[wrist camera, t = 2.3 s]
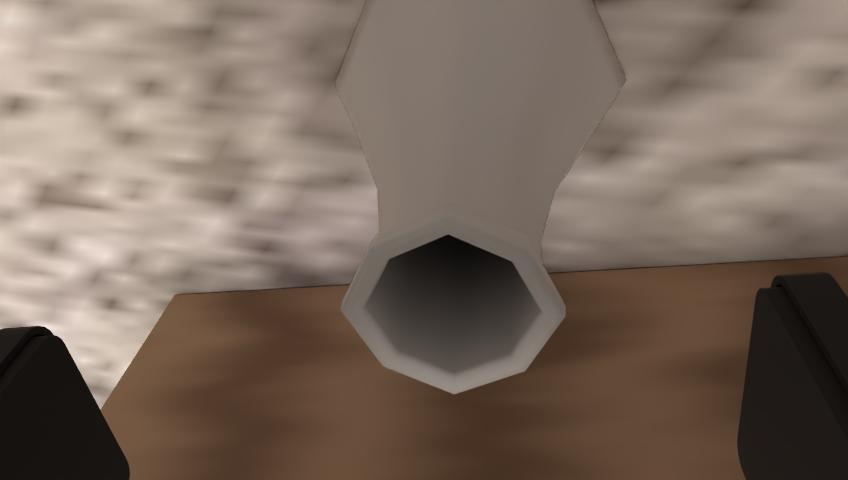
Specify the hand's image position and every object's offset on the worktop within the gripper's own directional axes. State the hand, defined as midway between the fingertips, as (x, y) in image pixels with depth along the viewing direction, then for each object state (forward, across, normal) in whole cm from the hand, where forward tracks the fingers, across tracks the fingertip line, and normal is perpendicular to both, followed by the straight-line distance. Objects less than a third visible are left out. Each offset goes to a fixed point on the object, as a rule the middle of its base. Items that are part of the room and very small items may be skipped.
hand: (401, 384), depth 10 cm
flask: (+12, -1, 0) cm, 12 cm away
